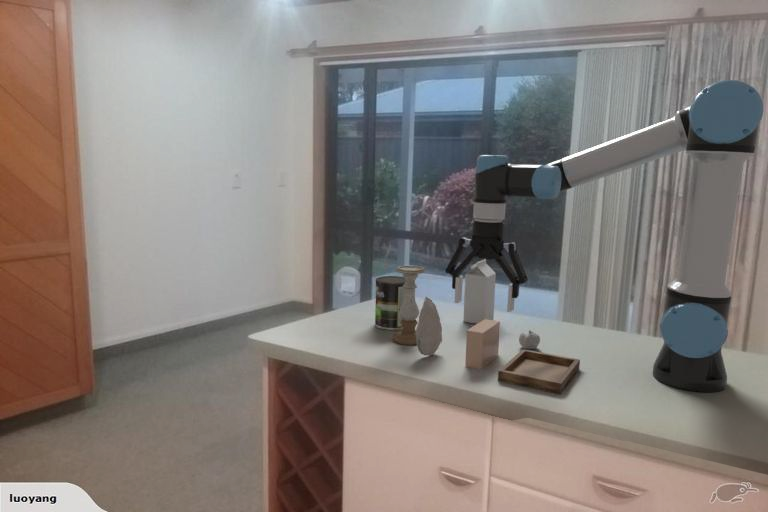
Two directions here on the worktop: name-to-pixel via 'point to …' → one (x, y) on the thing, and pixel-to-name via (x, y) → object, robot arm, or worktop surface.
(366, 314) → the worktop surface
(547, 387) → the tray
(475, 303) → the milk carton
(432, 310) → the stone tool
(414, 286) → the candle holder
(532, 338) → the garlic
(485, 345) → the tan rectangular block
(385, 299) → the coffee can
